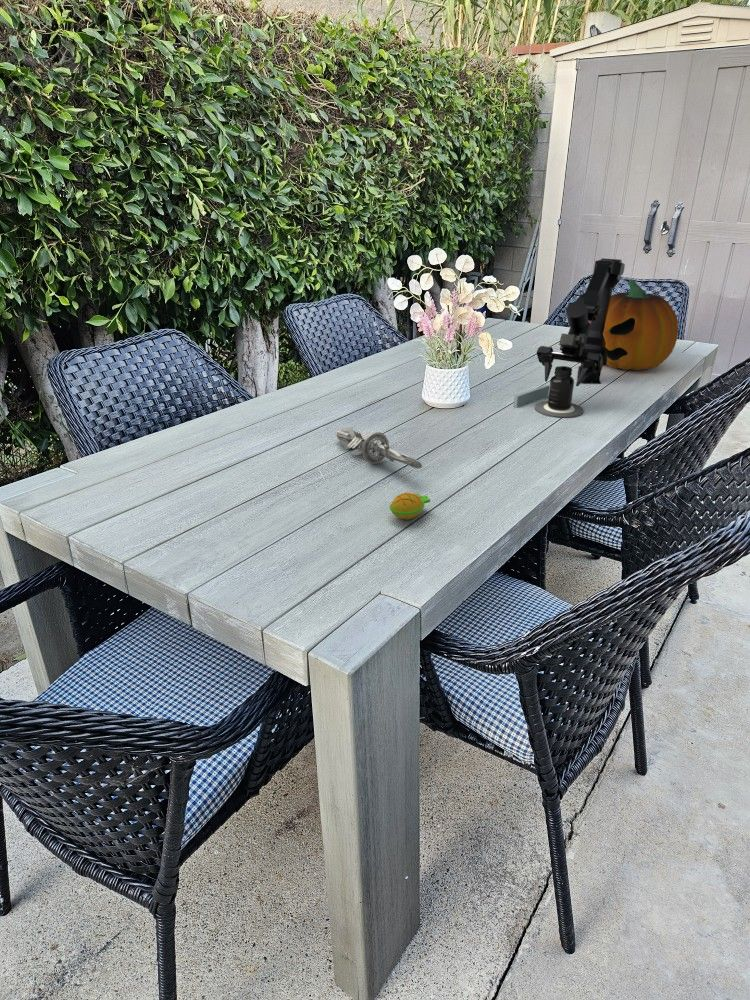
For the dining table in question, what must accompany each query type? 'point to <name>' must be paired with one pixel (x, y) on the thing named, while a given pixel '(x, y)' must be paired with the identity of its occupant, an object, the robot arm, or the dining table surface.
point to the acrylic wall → (531, 396)
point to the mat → (570, 413)
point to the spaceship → (373, 447)
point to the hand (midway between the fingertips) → (561, 383)
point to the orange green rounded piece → (408, 505)
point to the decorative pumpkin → (639, 329)
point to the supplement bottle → (561, 389)
